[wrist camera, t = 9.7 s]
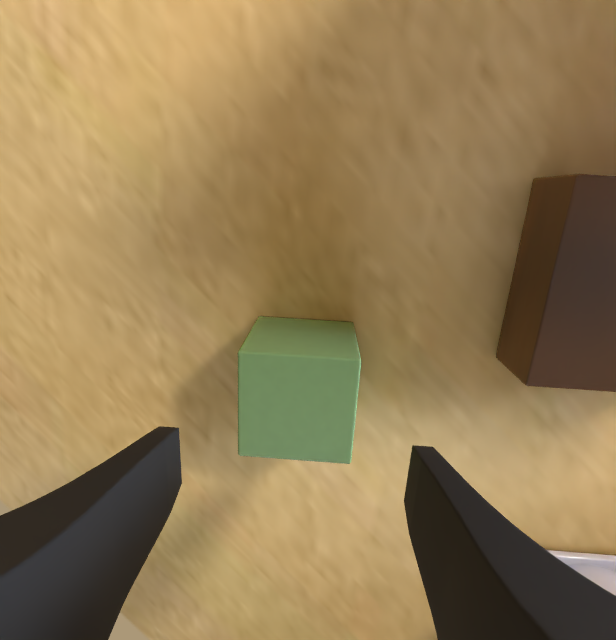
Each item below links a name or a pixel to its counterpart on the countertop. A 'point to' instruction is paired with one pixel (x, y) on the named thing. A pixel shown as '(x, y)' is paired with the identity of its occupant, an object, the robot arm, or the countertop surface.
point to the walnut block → (565, 287)
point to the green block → (298, 390)
